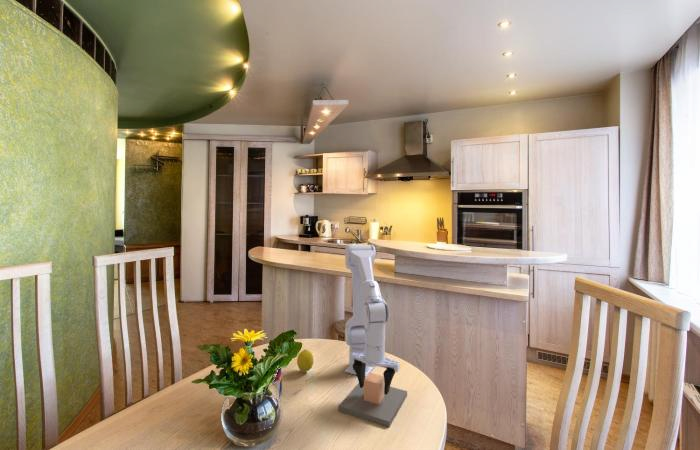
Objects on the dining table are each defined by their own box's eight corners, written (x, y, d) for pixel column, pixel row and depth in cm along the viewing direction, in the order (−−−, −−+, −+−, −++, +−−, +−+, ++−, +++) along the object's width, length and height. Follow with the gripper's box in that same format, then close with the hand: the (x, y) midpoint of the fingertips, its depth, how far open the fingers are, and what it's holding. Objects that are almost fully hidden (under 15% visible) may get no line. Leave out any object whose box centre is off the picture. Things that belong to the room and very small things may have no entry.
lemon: (316, 371, 115) (316, 348, 114) (306, 377, 110) (306, 354, 109) (304, 366, 117) (304, 344, 117) (293, 373, 113) (293, 350, 112)
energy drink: (277, 401, 97) (277, 361, 96) (260, 398, 98) (260, 359, 97) (284, 391, 102) (284, 353, 101) (268, 389, 103) (268, 351, 102)
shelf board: (361, 383, 106) (361, 379, 106) (407, 395, 100) (407, 391, 100) (338, 411, 92) (338, 405, 92) (389, 427, 86) (389, 421, 85)
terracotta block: (369, 392, 99) (370, 372, 99) (384, 396, 97) (384, 376, 97) (363, 400, 95) (363, 379, 95) (378, 404, 93) (378, 383, 92)
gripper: (346, 343, 95) (345, 389, 95) (394, 354, 88) (393, 403, 89) (356, 335, 101) (356, 378, 102) (402, 344, 95) (401, 390, 95)
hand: (374, 389), depth 96 cm, fingers open, 7 cm apart
